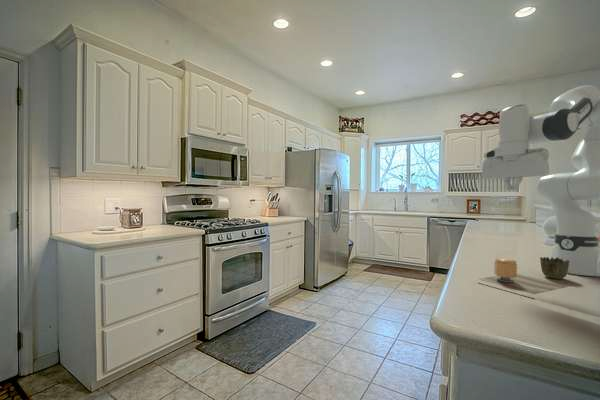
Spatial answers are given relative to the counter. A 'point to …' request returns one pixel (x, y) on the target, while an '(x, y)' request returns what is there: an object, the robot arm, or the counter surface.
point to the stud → (505, 280)
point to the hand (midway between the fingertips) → (512, 190)
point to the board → (526, 284)
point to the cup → (554, 267)
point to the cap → (505, 268)
